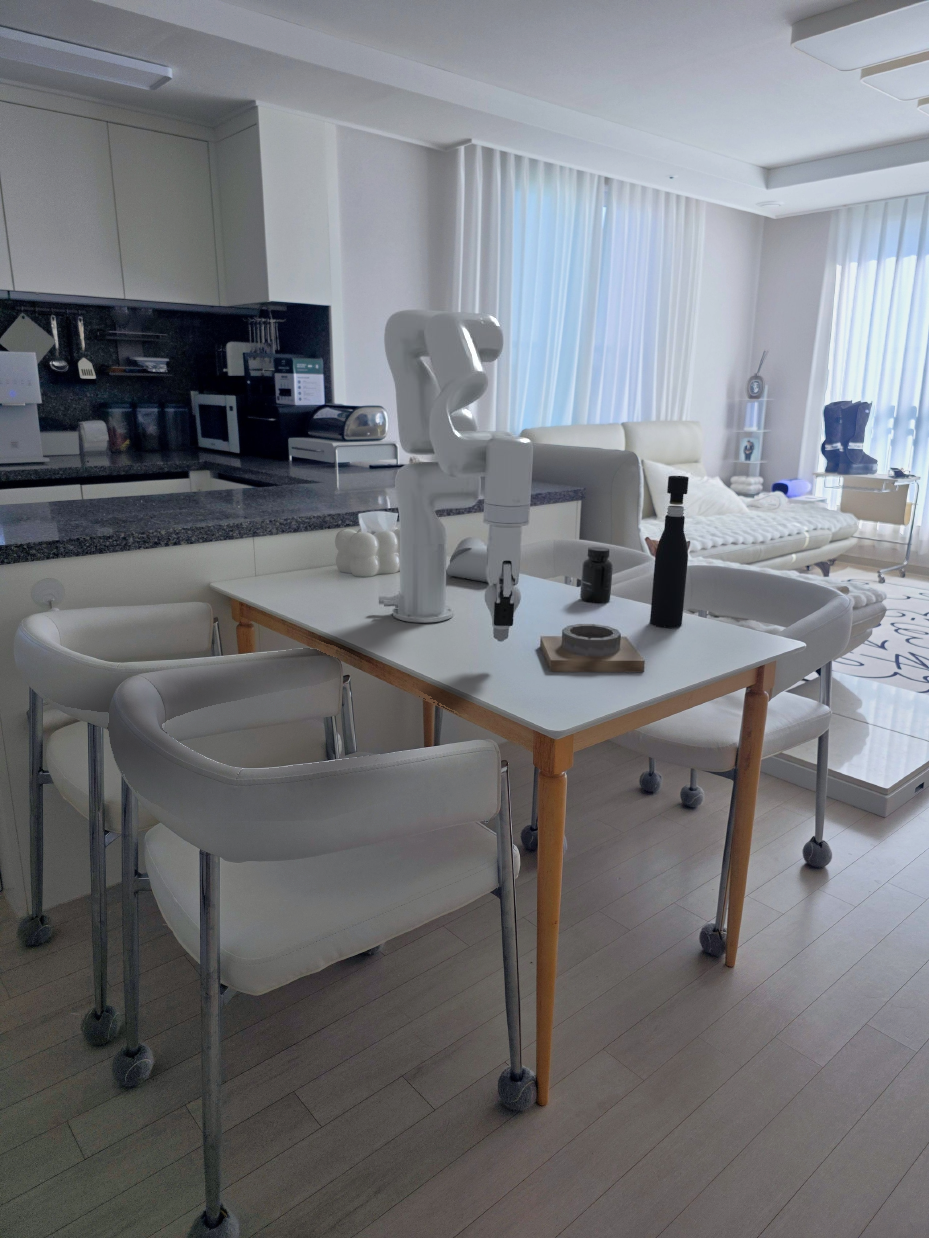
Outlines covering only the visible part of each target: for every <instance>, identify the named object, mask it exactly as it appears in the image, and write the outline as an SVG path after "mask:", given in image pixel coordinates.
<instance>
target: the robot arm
mask: <svg viewBox="0 0 929 1238" xmlns="http://www.w3.org/2000/svg"><path fill="white" fill-rule="evenodd" d="M383 336H384V337H383V338H384V339H383V340H384V341H383V343H384V350H385V351H384V352H385V356H386V360H387V363H388V366H389V369H390V373H391V375H392V378H393V382H394V388H395V398H396V399H395V401H396V413H397V429H398V430H397V431H398V437H399V443H400V446H401V448H402V450H403V451H404V452H405V453H407V454H409V455H415V456H435V458H436V461H416V462H410V463H407V464H404V465H403V466H401V467H400V468H399V469H398V470H397V472H396V474H395V476H394V477H395V478H394V488H395V489H394V490H395V496H396V502H397V509H398V517H399V591H398V594H395V593H394V594H393V595H378V605H380V606H383V607H394V608H393V609H392V616H393V617H394V618H395V619H398V620H401V621H403V622H410V623H421V624H422V623H427V624H428V623H438V622H443V621H447V620H449V619H450V618H453V615H454V609H453V608H452V607H450V606H448V605H447V544H448V543H447V541H448V540H447V538H448V537H447V530H446V527H445V525H444V523H443V522H442V521H441V519H440V518H439V517H438V514H437V513H436V511H439V510H452V509H465V508H466V509H467V508H471V507H473V506H475V505H476V504H477V503H478V501H479V499H480V495H481V489H482V487H481V486H482V482H481V481H482V480H481V478H482V477H483V478H484V491H483V492H484V496H483V519H482V520H483V521H482V522H483V523H484V524H486V525H488V530H487V531H488V532H487V545H486V548H487V560H486V577H487V581H488V582H487V583H488V585H491V586H492V585H493V584H496V602H495V603H494V625H495V626H510V627H512V626H513V625H514V617H515V616H514V615H515V614H514V613H515V612H514V602H513V599H514V586H516V585H517V586H518V583H519V579H520V578H519V577H520V567H521V555H522V554H521V553H522V533H523V527H525V526H528V525H529V524H530V515H531V496H532V482H533V481H532V478H533V459H534V445H533V442H532V440H531V439H529V438H527V437H523V436H516V435H515V434H513V433H511V432H509V431H502V430H493V431H492V430H489V431H488V430H478V426H477V425H478V424H477V422H476V420H475V417H474V415H473V414H472V412H471V411H470V410H468V409H467V408H466V407H467V406H469V405H471V404H474V403H475V402H477V400H479V399H480V398H481V397H482V396H483V395H484V394H485V393H486V391H487V389H488V387H489V378H488V375H487V372H486V369H485V366H484V363H493V362H495V361H497V360H498V358H499V357H500V356H501V354H502V352H503V349H504V334H503V329H502V327H501V324H500V323H499V321H498V320H497V319H496V318H495V317H494V316H492V315H491V314H489V313H488V314H487V313H475V312H462V311H461V312H460V311H459V312H458V311H444V310H432V309H403V310H399V311H396V312H394V313H392V314H391V315H390V316H389V317H388V319H387V321H386V324H385V327H384V335H383ZM423 357H424V358H425V357H426V358H427V357H429V359H430V362H431V366H432V368H433V370H434V372H433V371H432V370H431V368H430V367H429V366H428V365H427V363H426V362H425V361H424V360H423V359H422V358H423ZM439 390H440V392H439ZM499 581H503V584H499ZM500 588H503V590H501V592H500Z"/></svg>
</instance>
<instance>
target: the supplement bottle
mask: <svg viewBox="0 0 929 1238" xmlns="http://www.w3.org/2000/svg"><path fill="white" fill-rule="evenodd" d="M586 556H587V557H588V558H586V559H584V561H583V562H582V565H581V566H582V567H581V577H580V579H581V580H580V582H581V583H580V592H579V593H580V594H579V599H581V601H583V602H585V603H587V604H588V603H589V604H597V605H599V604H606V603H609V602H610V600H611V595H612V593H611V592H612V581H613V571H614V570H613V569H614V565H613V562H612V561H610V560H609V558H610V548H607V547H605V546H604V547H603V546H590V547H588V549H587V555H586Z"/></svg>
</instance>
